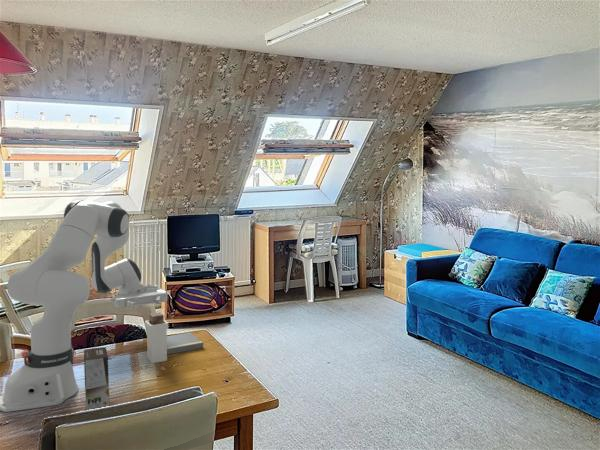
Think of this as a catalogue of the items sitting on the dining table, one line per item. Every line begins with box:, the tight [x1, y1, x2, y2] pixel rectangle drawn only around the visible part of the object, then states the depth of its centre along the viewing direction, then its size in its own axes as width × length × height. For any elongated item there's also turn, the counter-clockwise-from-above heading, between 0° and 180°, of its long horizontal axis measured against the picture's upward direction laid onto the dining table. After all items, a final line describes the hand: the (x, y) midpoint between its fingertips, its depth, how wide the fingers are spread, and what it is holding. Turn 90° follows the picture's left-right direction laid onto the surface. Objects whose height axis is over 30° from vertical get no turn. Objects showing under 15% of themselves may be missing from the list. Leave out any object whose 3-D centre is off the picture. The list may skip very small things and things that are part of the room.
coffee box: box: [83, 346, 110, 411], centre depth 154 cm, size 9×6×16 cm
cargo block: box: [148, 311, 165, 325], centre depth 188 cm, size 4×4×4 cm
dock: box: [167, 332, 204, 355], centre depth 205 cm, size 14×14×2 cm
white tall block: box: [144, 319, 169, 364], centre depth 189 cm, size 6×6×14 cm
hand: (146, 303), depth 199 cm, fingers open, 8 cm apart
